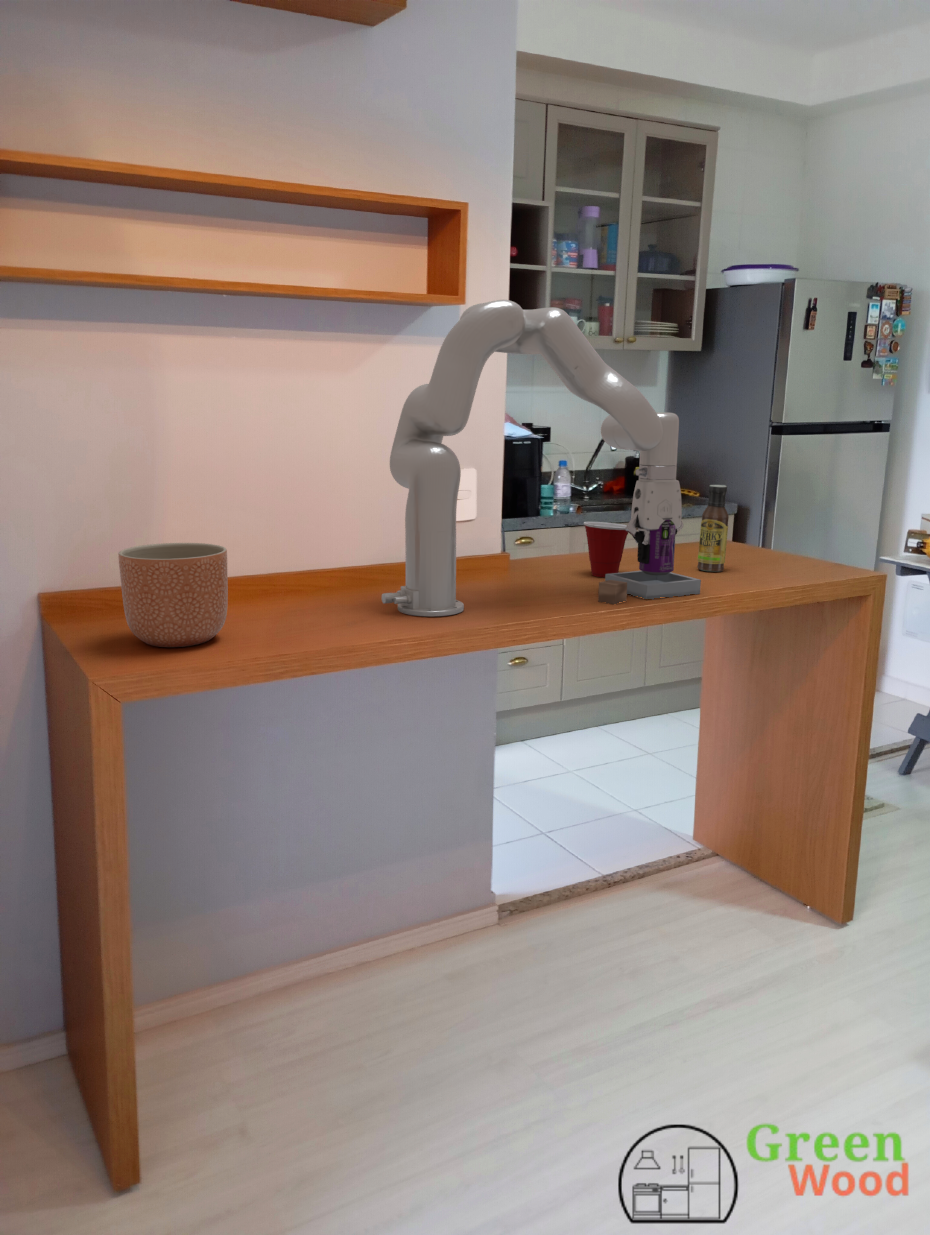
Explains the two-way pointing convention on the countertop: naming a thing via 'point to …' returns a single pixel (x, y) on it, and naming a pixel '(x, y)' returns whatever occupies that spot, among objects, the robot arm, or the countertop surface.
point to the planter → (174, 592)
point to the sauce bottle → (713, 531)
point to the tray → (656, 584)
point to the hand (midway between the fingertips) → (653, 560)
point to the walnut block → (612, 591)
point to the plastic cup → (605, 546)
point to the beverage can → (661, 549)
